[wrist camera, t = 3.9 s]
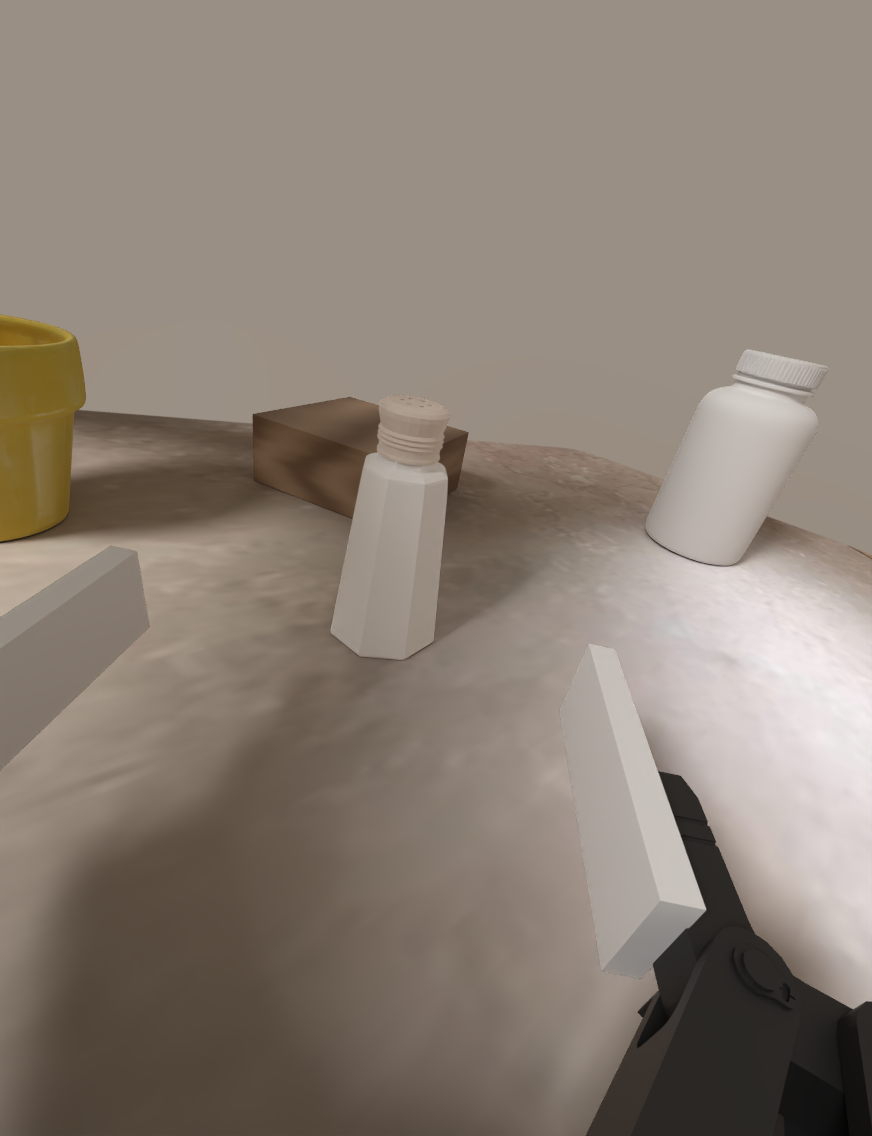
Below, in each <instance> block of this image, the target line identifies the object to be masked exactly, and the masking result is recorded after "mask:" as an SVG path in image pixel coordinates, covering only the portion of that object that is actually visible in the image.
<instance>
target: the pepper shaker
mask: <svg viewBox="0 0 872 1136" xmlns="http://www.w3.org/2000/svg"><path fill="white" fill-rule="evenodd" d="M379 415H380V421H381V422H380V423H379V425H378V427H379V429H378V433H379V434H377V437H378V439H379V444H378V445H377V453H371V454H369V455H366V458H365V462H364V466H363V470H362V475H361V480H360V485H359V490H358V495H357V500H356V505H355V509H354V514H353V519H352V524H351V529H350V534H349V539H348V544H347V549H346V554H345V559H344V564H343V569H342V574H341V579H340V584H339V589H338V594H337V599H336V603H335V609H334V614H333V619H332V624H331V630H330V632H331V633H332V634H333V635H334V636H335V637H336V638H337V639H339V640H340V641H341V642H342V643H344V644H345V645H346V646H347V647H349V648H350V649H351V650H352V651H353V652H355V653H356V654H357V655H358V656H360V657H370V658H382V659H394V660H404V659H406V658H407V657H409V656H411V655H412V654H414V653H416V652H417V651H419V650H421V649H422V648H424V647H425V646H427V645H429V644H430V643H432V642H433V641H434V633H435V622H436V611H437V600H438V590H439V579H440V568H441V557H442V547H443V536H444V525H445V515H446V504H447V489H448V477H447V473H446V469H445V467H444V466H443V465H442V464H441V463H439V462H438V461H439V460H440V454H439V453H440V450H441V449H442V448H443V446H442V444H443V443H444V441H443V439H444V438H445V436H444V434H443V433H444V431H445V429H446V427H447V424H448V422H449V420H450V414H449V412H448V410H447V409H446V408H445V407H443V406H441V405H440V404H438V403H436V402H434V401H431V400H428V399H423V398H419V397H414V396H405V395H394V396H390V397H386V398H383V399H382V400H381V401H380V402H379Z"/></svg>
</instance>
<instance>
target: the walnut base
mask: <svg viewBox="0 0 872 1136" xmlns="http://www.w3.org/2000/svg"><path fill="white" fill-rule="evenodd" d="M380 422H381V421H380V415H379V406H378V405H375V404H372V403H368V402H365V401H362V400H358V399H355V398H351V397H347V398H342V399H336V400H330V401H324V402H319V403H313V404H307V405H302V406H297V407H291V408H285V409H279V410H274V411H268V412H262V413H257V414H253V451H254V480H255V481H257V482H260V483H262V484H265V485H268V486H270V487H273V488H275V489H278V490H280V491H283V492H286V493H288V494H291V495H293V496H296V497H298V498H301V499H304V500H306V501H309V502H311V503H314V504H316V505H319V506H322V507H324V508H327V509H329V510H332V511H334V512H337V513H340V514H342V515H345V516H347V517H350V518H352V519H353V514H354V509H355V505H356V500H357V495H358V490H359V485H360V480H361V475H362V470H363V466H364V462H365V458H366V455H369V454H371V453H377V445H378V444H379V439H378V437H377V434H379V433H378V429H379V427H378V425H379V423H380ZM443 434H444V436H445V438H444V439H443V441H444V443H443V444H442V446H443V448H442V449H441V450H440V453H439V454H440V460H439V461H438V462H439V463H441V464H442V465H443V466H444V467H445V469H446V473H447V477H448V489H447V494H448V493H450V492H451V491H453V490H454V489H456V488H457V486H458V481H459V476H460V471H461V467H462V462H463V457H464V452H465V447H466V443H467V438H468V432H465V431H462V430H459V429H455V428H452V427H448V426H447V427H446V429H445V431H444V433H443Z"/></svg>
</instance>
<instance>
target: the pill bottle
mask: <svg viewBox="0 0 872 1136" xmlns="http://www.w3.org/2000/svg"><path fill="white" fill-rule="evenodd" d="M736 370H737V371H738V372H739V373H738V374H733V376H732V377H733V378H734V379H736V380H735V382H734V384H733V385H732V386H729V387H721V388H717V389H714V390H712V391H710V392H709V393H708V394H707V395H706V396H705V397H704V398H703V399H702V401H700V403H699V405H698V407H697V409H696V412H695V414H694V416H693V418H692V420H691V423H690V425H689V427H688V429H687V431H686V434H685V436H684V438H683V440H682V442H681V444H680V447H679V449H678V451H677V453H676V455H675V458H674V460H673V462H672V464H671V466H670V469H669V471H668V473H667V475H666V477H665V479H664V482H663V484H662V486H661V488H660V490H659V493H658V495H657V497H656V499H655V501H654V504H653V506H652V508H651V510H650V512H649V515H648V518H647V520H646V524H645V529H646V532H647V533H648V535H649V536H650V537H651V538H652V539H654V540H655V541H656V542H658V543H659V544H660V545H662V546H664V547H665V548H667V549H669V550H671V551H673V552H675V553H677V554H679V555H682V556H684V557H687V558H690V559H693V560H696V561H699V562H703V563H708V564H713V565H732V564H735V563H736V562H738V561H739V560H740V559H741V557H742V556H743V554H744V553H745V552H746V550H747V549H748V547H749V545H750V544H751V542H752V540H753V538H754V537H755V535H756V533H757V532H758V530H759V528H760V527H761V525H762V523H763V522H764V520H765V518H766V517H767V515H768V513H769V512H770V510H771V508H772V507H773V505H774V503H775V502H776V500H777V498H778V497H779V495H780V493H781V492H782V490H783V488H784V487H785V485H786V483H787V481H788V480H789V478H790V477H791V475H792V473H793V471H794V470H795V468H796V466H797V464H798V463H799V462H800V460H801V458H802V456H803V455H804V453H805V451H806V450H807V448H808V446H809V445H810V443H811V441H812V440H813V438H814V436H815V434H816V431H817V428H818V418H817V416H816V414H815V413H814V412H813V411H812V410H811V409H810V408H809V407H807V406H806V405H805V401H806V399H807V397H808V396H809V397H813V396H814V393H813V392H811V390H812V389H817V388H818V387H819V386H820V384H821V382H822V381H823V379H824V377H825V375H826V374H827V372H828V367H827V366H823V365H819V364H814V363H810V362H806V361H801V360H796V359H792V358H788V357H783V356H778V355H774V354H769V353H764V352H759V351H754V350H749V349H748V350H746V351H745V352H744V353H743V355H742V357H741V359H740V361H739V363H738V365H737V367H736Z"/></svg>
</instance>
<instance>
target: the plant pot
mask: <svg viewBox="0 0 872 1136" xmlns="http://www.w3.org/2000/svg"><path fill="white" fill-rule="evenodd" d="M85 400H86V393H85V383H84V375H83V369H82V362H81V356H80V351H79V346H78V342H77V339H76V337H75V336H74V335H73V334H71V333H70V332H68V331H66V330H64V329H61V328H59V327H56V326H52V325H49V324H45V323H41V322H37V321H32V320H28V319H23V318H18V317H13V316H6V315H1V314H0V541H7V540H13V539H18V538H23V537H27V536H30V535H34V534H37V533H39V532H42V531H45V530H47V529H49V528H51V527H53V526H55V525H57V524H59V523H60V522H61V521H62V520H64V519H65V518H66V516H67V515H68V512H69V504H70V480H71V459H72V440H73V424H74V412H75V411H77V410H79V409H80V408H81V407H82V406H83V405H84V403H85Z"/></svg>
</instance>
